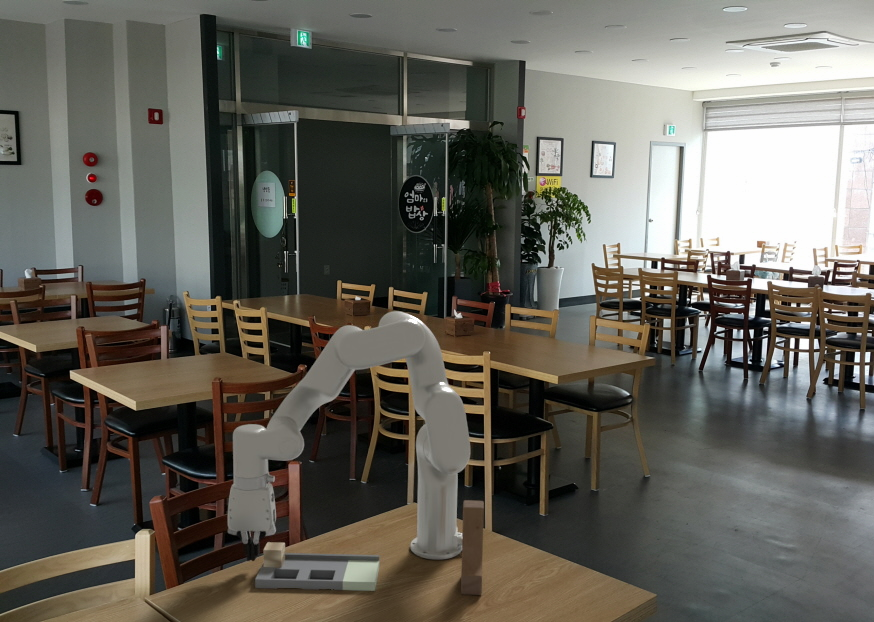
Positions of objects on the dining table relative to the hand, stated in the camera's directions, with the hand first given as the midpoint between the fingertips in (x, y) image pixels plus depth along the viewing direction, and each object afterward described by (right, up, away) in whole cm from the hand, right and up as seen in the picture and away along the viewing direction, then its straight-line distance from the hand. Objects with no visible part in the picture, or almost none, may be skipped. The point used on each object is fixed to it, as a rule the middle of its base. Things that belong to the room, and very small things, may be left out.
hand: (252, 558), depth 180 cm
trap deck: (+15, -4, -2) cm, 16 cm away
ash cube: (+5, -1, 0) cm, 5 cm away
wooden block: (+49, -5, -4) cm, 50 cm away
